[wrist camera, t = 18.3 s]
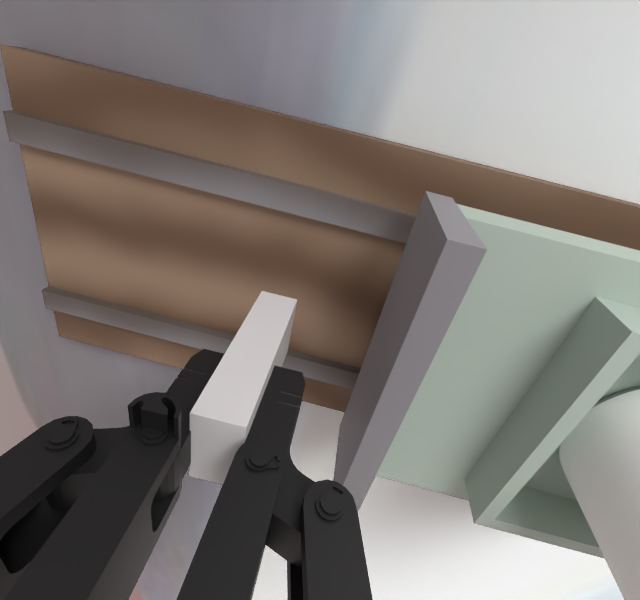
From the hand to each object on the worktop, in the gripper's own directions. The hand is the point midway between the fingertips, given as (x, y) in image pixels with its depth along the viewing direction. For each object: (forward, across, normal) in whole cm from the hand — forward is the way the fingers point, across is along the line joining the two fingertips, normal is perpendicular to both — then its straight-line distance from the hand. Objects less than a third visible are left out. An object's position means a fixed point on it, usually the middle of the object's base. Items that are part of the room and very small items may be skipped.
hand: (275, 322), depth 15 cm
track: (+4, -7, 0) cm, 8 cm away
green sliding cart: (+2, -13, 0) cm, 14 cm away
